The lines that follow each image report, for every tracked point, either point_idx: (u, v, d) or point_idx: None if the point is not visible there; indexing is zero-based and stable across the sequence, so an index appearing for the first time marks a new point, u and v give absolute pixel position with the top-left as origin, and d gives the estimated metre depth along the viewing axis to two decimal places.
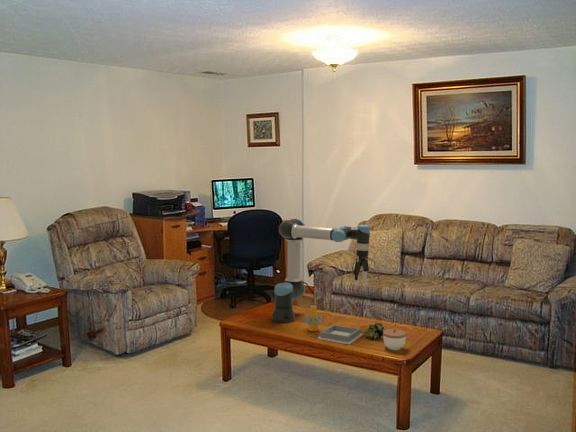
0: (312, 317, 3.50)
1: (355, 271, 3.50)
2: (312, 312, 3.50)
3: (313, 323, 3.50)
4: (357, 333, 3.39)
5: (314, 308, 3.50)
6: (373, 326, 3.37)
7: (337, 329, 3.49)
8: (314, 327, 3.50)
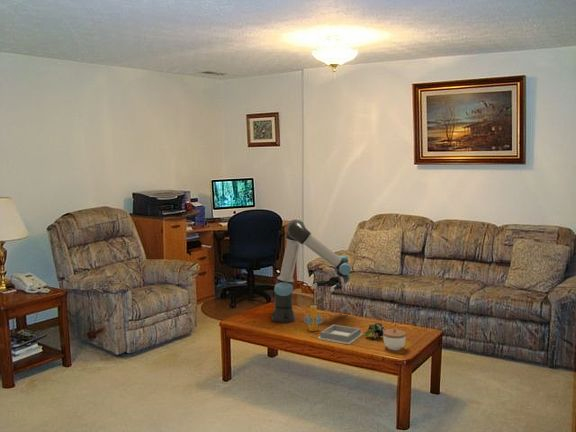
0: (312, 317, 3.50)
1: None
2: (312, 312, 3.50)
3: (313, 323, 3.50)
4: (357, 333, 3.39)
5: (314, 308, 3.50)
6: (373, 326, 3.37)
7: (337, 329, 3.49)
8: (314, 327, 3.50)
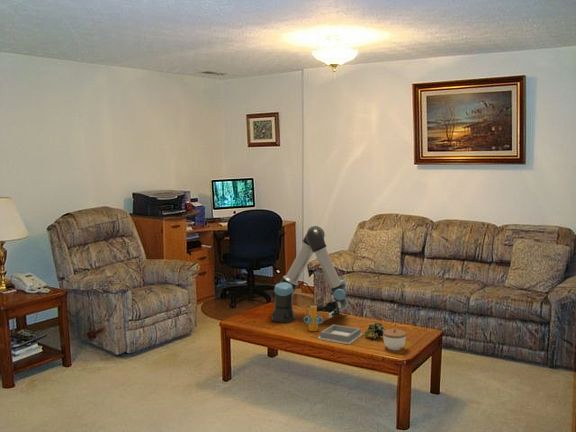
0: (312, 317, 3.50)
1: None
2: (312, 312, 3.50)
3: (313, 323, 3.50)
4: (357, 333, 3.39)
5: (314, 308, 3.50)
6: (373, 326, 3.37)
7: (337, 329, 3.49)
8: (314, 327, 3.50)
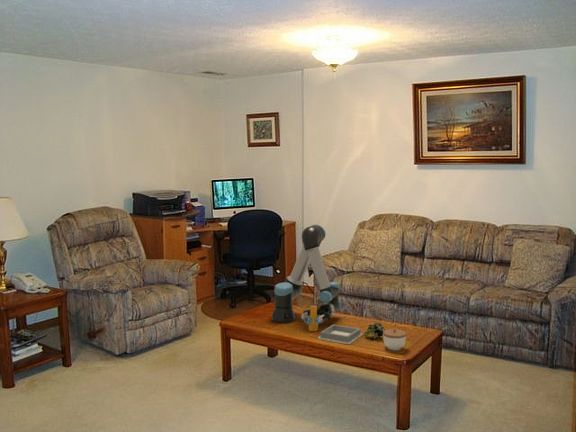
0: (312, 317, 3.50)
1: (330, 316, 3.52)
2: (312, 312, 3.50)
3: (313, 323, 3.50)
4: (357, 333, 3.39)
5: (314, 308, 3.50)
6: (373, 326, 3.37)
7: (337, 329, 3.49)
8: (314, 327, 3.50)
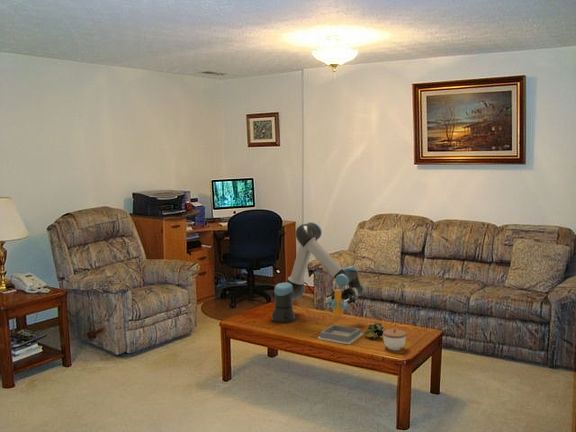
0: (337, 301, 3.38)
1: (355, 300, 3.40)
2: (337, 296, 3.37)
3: (338, 307, 3.37)
4: (357, 333, 3.39)
5: (339, 292, 3.37)
6: (372, 326, 3.37)
7: (337, 329, 3.49)
8: (339, 311, 3.37)
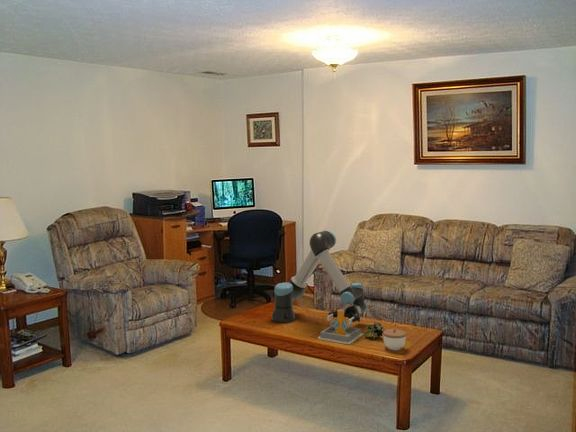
0: (339, 322, 3.37)
1: (359, 318, 3.39)
2: (339, 316, 3.37)
3: (340, 328, 3.37)
4: (357, 333, 3.39)
5: (342, 312, 3.37)
6: (372, 326, 3.37)
7: None
8: (341, 332, 3.37)
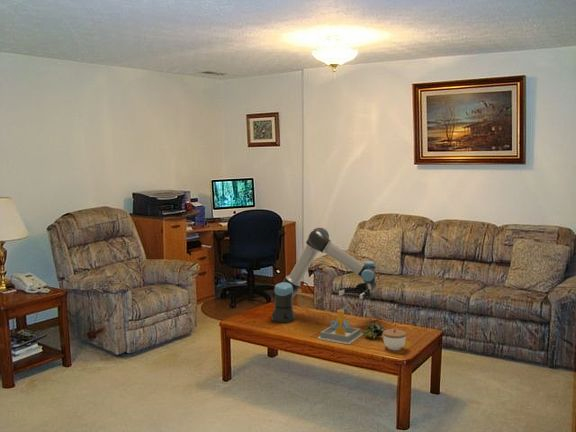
0: (339, 322, 3.37)
1: None
2: (339, 317, 3.37)
3: (340, 328, 3.37)
4: (357, 333, 3.39)
5: (341, 312, 3.36)
6: (372, 326, 3.37)
7: None
8: (341, 332, 3.37)
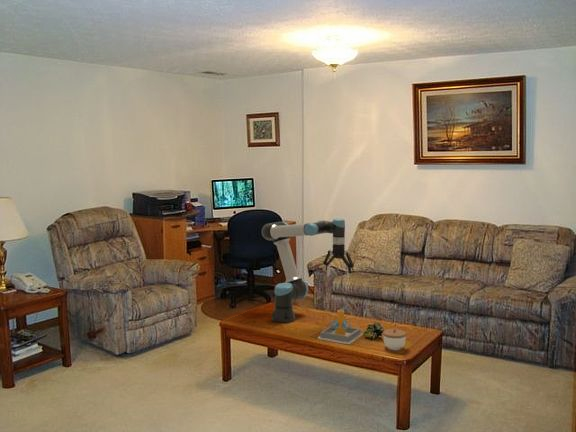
0: (339, 322, 3.37)
1: None
2: (339, 317, 3.37)
3: (340, 328, 3.37)
4: (357, 333, 3.39)
5: (341, 312, 3.36)
6: (372, 326, 3.37)
7: None
8: (341, 332, 3.37)
